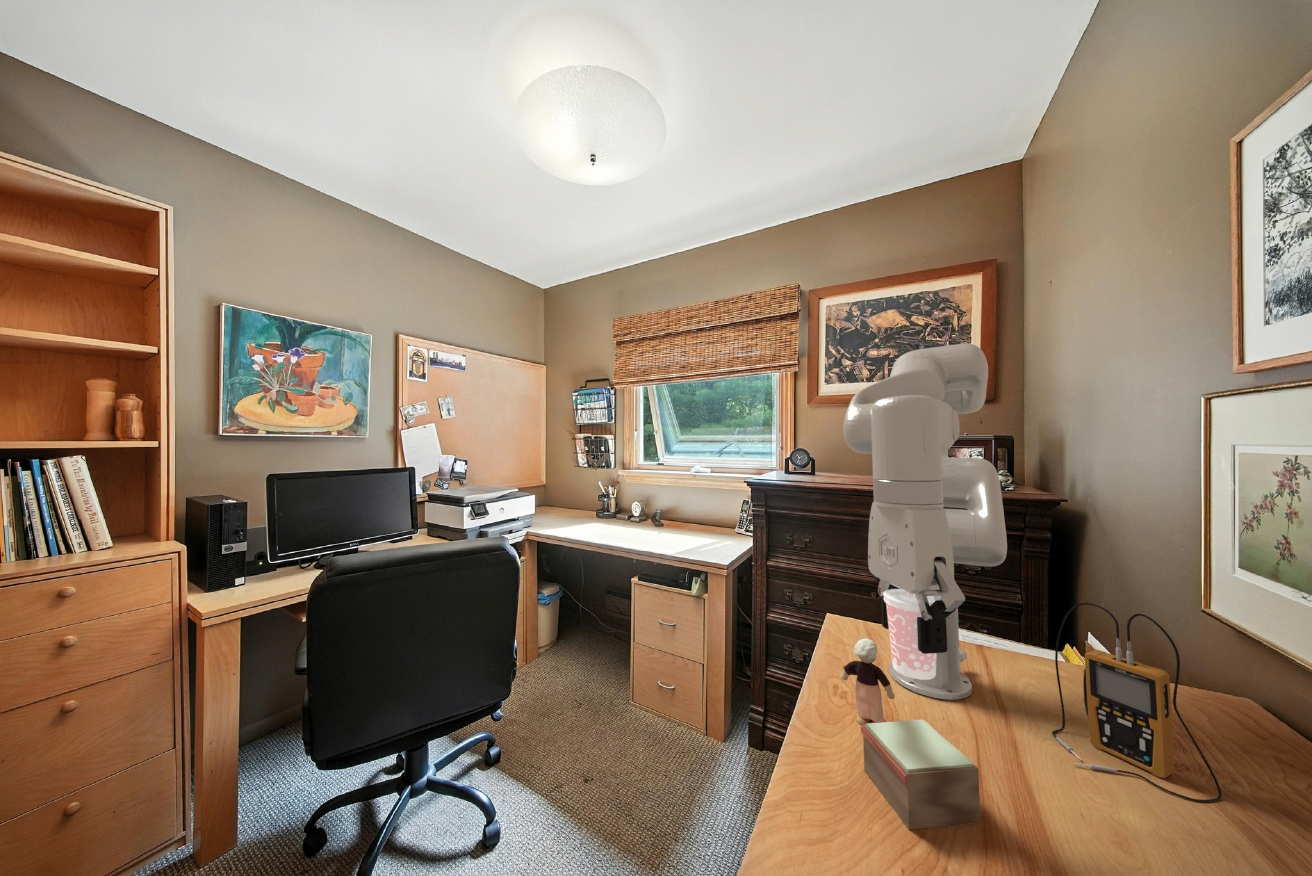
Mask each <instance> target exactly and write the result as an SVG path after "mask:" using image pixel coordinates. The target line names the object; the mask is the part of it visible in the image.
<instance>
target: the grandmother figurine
mask: <svg viewBox="0 0 1312 876" xmlns="http://www.w3.org/2000/svg"><path fill="white" fill-rule="evenodd" d="M853 649H854V650H853V653H854V654H855V655H856V656H858V659H860V660H852V661H850V662H848V663H847V664H846V665H844V666H843V670H842V673H841V674H840V678H841V680H843V681H847V680H848V679H849V676H856V679H855V703H856V711H857V712H856V713H857V716H856V722H857V723H858V724H859V725H861V726H863V725H864V724H867V723H871V722H872V723H881V722H887V720H885V717H884V715H885V714H884V708H883V698H882V689H881V686H882V687H883V689H884V691H885V692H886V696H887V698H889V699H890V700H893V699H895V693H894V692H893V688H892V685H891V682H890V680H889V679H888V677H887V675H886V674H885V673H884V671H883V670H882V669H881V668H880V667H879V666H877V665H876V664H874V662H875V661H876V658H877V654H878V649H877V644H876V643H875V642H874V641H873V640H871V639H869V638H868V637H867V638H862V639H860V640H858V641H857V642H856V643H855V645H854V648H853ZM879 683H880V684H879ZM880 685H881V686H880Z"/></svg>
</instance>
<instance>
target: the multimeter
mask: <svg viewBox="0 0 1312 876" xmlns="http://www.w3.org/2000/svg"><path fill="white" fill-rule="evenodd" d="M1085 605H1089V606H1094V607H1096V608H1098V609H1102V610H1103V611H1104V612H1106V613H1107V614H1109V616H1110V617H1111V618H1112V619H1113V621H1114V623H1115V631H1116V638H1115V640H1116V641H1115V642H1116V643H1115V644H1116V647H1115V654H1112V653H1110V652H1109V653H1108V652H1106V651H1105V650H1099V649H1094V650H1090V651H1088V652H1086V653H1084V663H1085V666H1084V667H1085V668H1083V681H1082V682H1083V702H1084V708H1085V713H1086V716H1087V718H1088V728H1089V729H1088V730H1089V742H1090V744H1091V745H1092V746H1093V747H1094V748H1097V749H1098V750H1100V751H1104V752H1106V753H1109V754H1111V755H1113V756H1115V757H1118V758H1119V759H1122V760H1123V761H1126V762H1127V763H1129V764H1132V765H1134V766H1136V767H1138V768H1141V769H1143V770H1145V771H1147V772H1149V773H1151V775H1153V776H1155V777H1158V778H1160V779H1165V778H1168V777H1169V776H1170V775H1171V774H1173V773H1174V772H1175V760H1174V755H1175V753H1174V736H1173V735H1174V734H1173V733H1174V732H1173V716H1172V715H1173V713H1172V704H1173V709H1174V712H1175V715H1177V718H1178V719H1179V721H1180V723H1181V724H1182V726H1183V728H1184V730H1185V731H1186V733H1187V735H1188V736H1189V738H1190V740H1191V742H1193V744H1194V746H1195V748H1196V750H1197V751H1198V753H1199V755H1200V756H1201V758H1202V759H1203V760H1202V761H1204V764H1205V765H1206V767H1207V769H1208V771H1209V773H1210V774H1211V777H1212V779H1213V781H1214V784H1215V787H1216V788H1217V794H1218V795H1217V796H1216V797H1215V798H1210V799H1209V798H1208V799H1197V798H1194V797H1189V796H1186V795H1182V794H1179V793H1177V792H1174V791H1172V790H1169V789H1167V788H1165V787H1163V786H1161V785H1158V784H1157V783H1155V782H1153V781H1151V780H1150V779H1149V778H1148V777H1145V776H1143V775H1141V774H1138V773H1136V772H1131V771H1127V770H1121V769H1117V768H1113V767H1109V766H1102V765H1096V764H1092V763H1089V764H1082V763H1077V762H1073V763H1072V765H1076V766H1079V767H1080V766H1082V767H1087V768H1089V769H1091V770H1098V771H1102V772H1103V771H1104V772H1108V773H1109V772H1110V773H1122V774H1127V775H1133V776H1137V777H1138V778H1142V779H1143V780H1145V781H1147V782H1148V783H1150V784H1152V785H1153V786H1155V787H1157V788H1159V789H1160V790H1162V791H1165V792H1167V793H1169V794H1172V795H1175V796H1176V797H1180V798H1183V799H1185V800H1188V801H1193V802H1199V803H1213V802H1214V803H1215V802H1218V801H1221V799H1222V798H1223V794H1222V788H1221V786H1220V784H1219V781H1218V779H1217V777H1216V776H1215V773H1214V771H1213V770H1212V767H1211V766H1210V764H1209V763H1208V760H1207V759H1206V757H1205V754H1204V753H1203V751H1202V750H1201V748H1200V747H1199V744H1197V742H1196V740H1195V739H1194V736H1193V735H1192V733H1191V732H1190V729H1189V728H1188V726H1187V725H1186V723H1185V721H1184V720H1183V718H1182V716H1181V715H1180V712H1179V711H1178V707H1177V693H1178V687H1179V682H1180V681H1179V680H1180V670H1181V659H1180V653H1179V651H1178V648H1177V646H1176V644H1175V642H1174V641H1173V639H1172V637H1171V635H1170V634H1169V633H1167V631H1166V630H1165V629H1164V627H1162V626H1161V625H1160V624H1159V623H1158V622H1157V621H1156V620H1154V619H1153V618H1151V617H1149V616H1148V615H1146V614H1144V613H1136V614H1133V615H1131V617H1129V618H1128V621H1127V623H1126V638H1127V640H1126V648H1127V650H1126V658H1124V657H1123V650H1122V649H1123V648H1121V638H1120V630H1119V629H1120V627H1119V625H1120V624H1119V623H1118V620H1117V618H1116V617H1115V616H1114V615H1113V614H1112V613H1111V612H1110V611H1109V610H1108V609H1106V608H1104V607H1102V606H1101V605H1098V604H1096V603H1095V604H1094V603H1089V602H1079V603H1077V604H1076V605H1073V606H1072V607H1071V608H1070V609H1069V610H1068V611H1067V612H1066V614H1065V616H1064V617H1063V619H1062V622H1061V624H1060V626H1059V630H1058V634H1057V638H1056V644H1055V653H1054V655H1055V656H1054V661H1055V671H1056V679H1057V686H1058V691H1059V699H1060V705H1061V706H1060V707H1061V713H1062V714H1061V715H1062V725H1061V727H1060V728H1058V729H1055V730H1052V731H1051V735H1052V736H1053V737H1054V738H1055V739H1056V740H1057V741H1058V742H1059V743H1060V744H1061V745H1062V746H1063V747H1064V748H1065V749H1066V750H1067V751H1068V752H1069V753H1072V754H1073V755H1074V756H1075V757H1076V758H1077V759H1079V760H1080V761H1082V759H1081V757H1080V756H1079V755H1077V753H1076V752H1074V748H1071V746H1069V745H1068V744H1067V743H1066V742H1065V741H1064V740H1063V739H1061V738H1060V737H1059V736H1057V735H1056V734H1055V733H1058V732H1062V731H1063V730H1065V726H1066V718H1065V717H1066V715H1065V706H1064V701H1063V693H1062V687H1061V680H1060V673H1059V664H1058V663H1059V662H1058V661H1059V660H1058V659H1059V658H1058V657H1059V656H1058V654H1059V644H1060V639H1061V634H1062V631H1063V628H1064V625H1065V623H1066V621H1067V618H1068V617H1069V616H1070V613H1071V612H1073V611H1074V610H1075V609H1076V608H1077V607H1080V606H1085ZM1136 617H1144V618H1146V619H1148V620H1150V622H1152V623H1153V624H1154V625H1156V626H1157V627H1158V628H1159V629H1160V630H1161V631H1162V632H1163V634H1164V635H1165V636H1166V637H1167V638H1168V641H1170V644H1171V646H1172V647H1173V649H1174V652H1175V657H1176V658H1175V659H1176V672H1175V681H1174V686H1173V688H1174V689H1173V695H1171V681H1170V673H1168V672H1167V671H1165V670H1164V669H1161V668H1159V667H1156V666H1150V665H1148V664H1147V665H1146V664H1144V663H1141V662H1138V661H1134V652H1133V650H1132V641H1131V632H1130V631H1131V630H1130V629H1131V626H1130V625H1131V623H1132V621H1133V619H1134V618H1136ZM1171 696H1172V697H1171ZM1171 698H1172V699H1171Z"/></svg>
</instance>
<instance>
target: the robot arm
mask: <svg viewBox="0 0 1312 876" xmlns="http://www.w3.org/2000/svg"><path fill="white" fill-rule="evenodd" d="M988 379H989V366H988V361H987V358H986V355H985V353H984V351H983V349H981V348H980V347H979V346H977V345H975V344H973V343H969V342H966V343H957V344H951V345H950V344H949V345H942V346H935V347H933V346H932V347H928V348H921V349H920V348H919V349H915V350H911V351H910V350H909V351H908V352H906V353H904V354H902V355H901V356H899V357H898V358H897V359H896V360H895V362H894V363H893V365H892V367H891V371H890V374H889V376H888V377H886V378H884V379H882V380H880V381H877V382H876V383H873V384H871V385H868V386H866V387H864V388H862V389H861V390H859V391H858V392H856V393H855V394H854V395H853V397H852V398H851V401H850V402H849V404H848V407H847V410H846V412H845V415H844V420H843V428H842V429H843V430H842V431H843V433H842V434H843V438H844V442H845V444H846V445H847V447H848V448H849V449H851V451H853V452H855V453H857V454H862V455H871V456H872V457H871V458H872V459H871V460H872V481H873V482H872V485H873V486H872V487H873V490H872V491H873V502H872V503H871V509H870V514H869V521H868V522H869V523H868V524H869V525H868V542H867V545H868V546H867V566H868V570H869V572H870V573H871V574H872V575H873V576H874V579H875V581H876V583H877V584H878V585H877V586H878V587H877V593H878V595H879V596H880V611H881V612H880V613H881V616H880V617H881V626H882V628H884V629H885V630H889V626H888V617H887V607H886V602H885V601H884V596H883V592H884V591H886V590H890V589H902V590H904V591H906V592H908V593H911V594H915V595H916V599H917V602H918V606H919V609H920V613H921V616H922V617H917V633H918V650H919V651H920V652H922V653H923V654H930V653H937V655H936V676H935V677H934V678H932V679H929V680H920V679H914V678H911V677H907V676H904V675H902V674H901V673H899V672H897V671H896V670H895V669H894V668H893V665H892V661H891V662H890V663H889V667H888V668H889V674H890V676H891V677H892V678H893V679H894V681H895V682H896V683H898V684H899V685H901V686H902V687H904V688H906V689H908V690H910V691H912V692H914V693H917V694H920V695H923V696H926V697H929V698H933V699H940V700H951V701H952V700H962V699H965V698H968V697H970V695H972V691H973V686H972V682H971V681H970V679H969V678H968V677H967V676H966V674H963V673H962V672H961V663H962V662H965V661H966V660H967V658H968V655H967V653H966V652H965V651H964V650H962V649H960V634H959V630H960V629H959V628H960V627H959V609H958V608H959V607H960V606H961V605H962V604H963V603H964V602H965V601H966V597H965V594H964V593H963V592H962V589H961V588H960V587H959V585H958V584H957V582H956V580H955V566H954V565H955V564H961V565H967V566H968V565H969V566H979V567H996V566H999V565H1001V564H1003V562H1005V560H1006V558H1007V552H1008V543H1007V542H1008V541H1007V539H1008V538H1007V529H1006V522H1005V515H1004V514H1005V513H1004V503H1003V496H1002V495H1003V494H1002V489H1001V488H1002V487H1001V483H1000V482H1001V481H1000V477H999V473H998V471H997V469H996V467H995V466H994V464H992V462H990V461H989V460H987V459H985V458H978V457H949V449H950V448H952V446H953V445H954V444H955V442H956V441H958V440H959V436H960V430H961V429H960V428H961V427H960V425H961V424H960V416H959V415H964V414H965V415H967V414H968V415H969V414H972V413H976V412H979V411H981V409H982V408H983V406H984V405H985V402H986V398H987V391H988V390H987V387H988V381H989V380H988ZM956 508H957V509H956ZM927 596H934V600H935V602H934V603H933V604H932V605H930V606H929V602H928V599H927Z"/></svg>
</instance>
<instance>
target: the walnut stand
mask: <svg viewBox="0 0 1312 876" xmlns="http://www.w3.org/2000/svg"><path fill="white" fill-rule="evenodd" d="M860 733H861V734H862V736H863V737H862V739H863V744H862V745H863V766H864V767H863V768H864V769H863V771H864V773H865V774H866V776H867V777H868V778H869V779H870V780H871V782H872V783H873V784H874V786H875V787H876V788H877V790H878V791H879V793H881V795H882V797H883V798H884V799H885V800H886V801H887V802H888V804H889V806H891V808H892V810H894V812H895V813H896V815H897V816H898V817H899V818H900V820H901V821H902V823H904V825H905V826H906V827H907V829H908V830H919V829H928V828H938V827H939V828H940V827H949V826H952V827H953V826H961V824H962V825H972V824H971V823H973V824H981V823H980V822H982V821H981V819H982V818H981V817H982V816H981V798H980V793H981V792H980V776H979V775H980V772H979V767H978V766H976V765H975V764H974V763H973V761H971V760H970V759H969V758H968V757H966V756H965V754H963V753H962V752H961V751H959V750H958V748H956V747H955V746H954V745H953V744H952V743H950V742H949V740H947V739H946V737H943V735H941V733H939V731H937V730H936V729H935V728H933V726H931V725H930V724H929V723H928V722H927V721H925V719H914V720H913V719H911V720H896V721H886V722H881V723H873V722H869V723H867V724H864V725H861V726H860ZM969 823H970V824H969Z"/></svg>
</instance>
